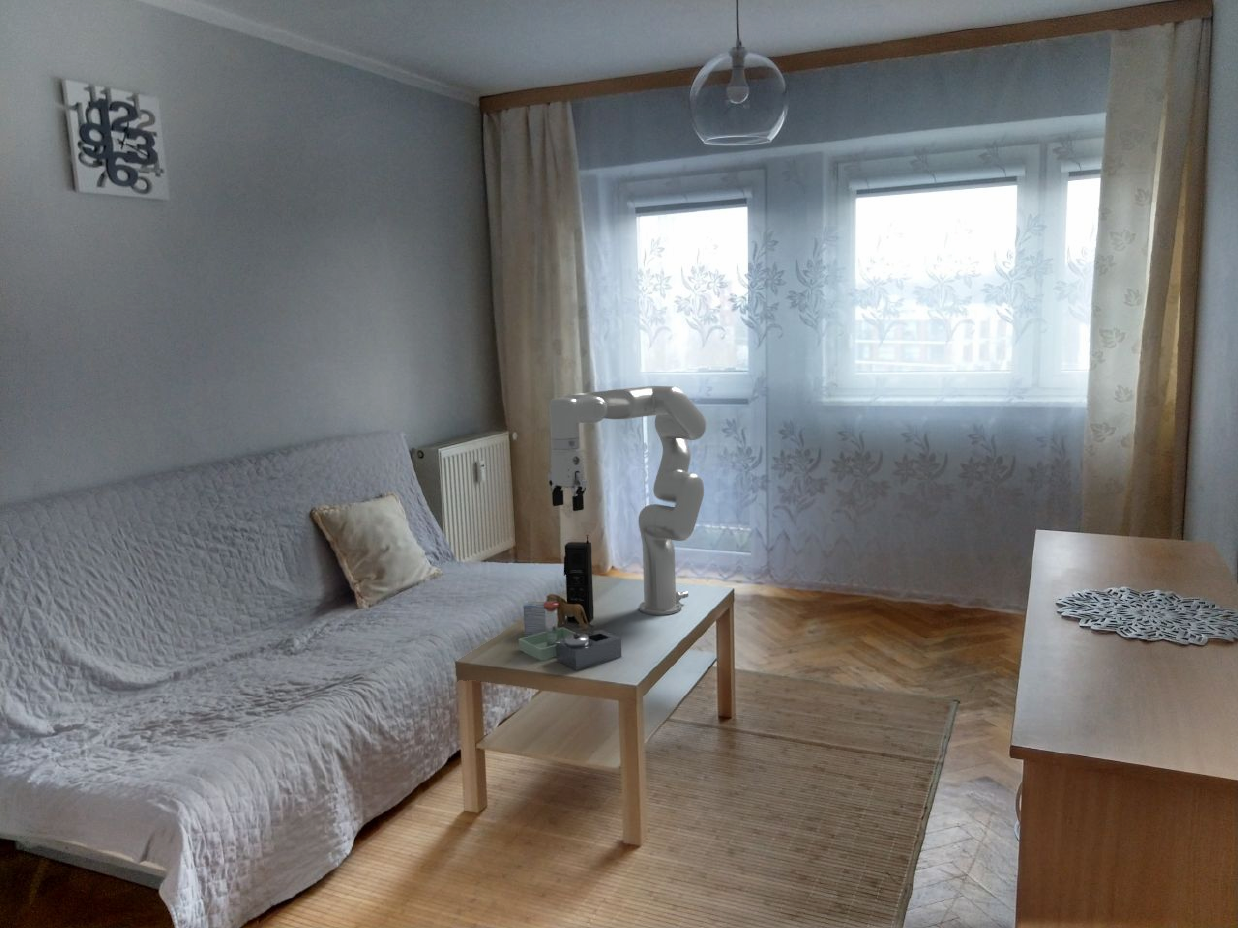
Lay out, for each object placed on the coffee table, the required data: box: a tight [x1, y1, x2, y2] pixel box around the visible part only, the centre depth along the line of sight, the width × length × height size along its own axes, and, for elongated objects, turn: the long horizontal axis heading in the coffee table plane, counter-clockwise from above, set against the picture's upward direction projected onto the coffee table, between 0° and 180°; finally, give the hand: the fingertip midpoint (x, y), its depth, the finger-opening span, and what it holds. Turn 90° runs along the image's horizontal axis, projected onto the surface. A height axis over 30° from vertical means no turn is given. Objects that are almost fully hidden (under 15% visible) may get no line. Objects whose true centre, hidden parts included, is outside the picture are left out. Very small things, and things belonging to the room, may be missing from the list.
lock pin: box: [543, 601, 559, 647], centre depth 240 cm, size 4×4×12 cm
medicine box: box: [522, 601, 546, 637], centre depth 253 cm, size 8×4×9 cm, turn 74°
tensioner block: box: [555, 629, 622, 671], centre depth 232 cm, size 14×9×7 cm, turn 127°
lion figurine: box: [545, 593, 594, 631], centre depth 259 cm, size 15×5×9 cm, turn 67°
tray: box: [518, 627, 577, 662], centre depth 241 cm, size 14×11×3 cm
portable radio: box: [563, 534, 595, 624], centre depth 263 cm, size 8×6×25 cm
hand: (568, 507), depth 244 cm, fingers open, 9 cm apart
